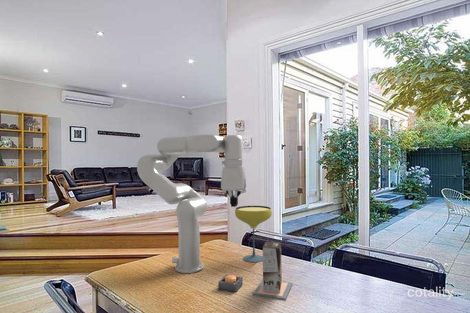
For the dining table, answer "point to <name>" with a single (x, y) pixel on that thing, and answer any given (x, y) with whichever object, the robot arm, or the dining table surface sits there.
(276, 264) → the coffee box
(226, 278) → the button
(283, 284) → the picture board
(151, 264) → the dining table surface
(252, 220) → the cocktail glass
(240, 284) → the button housing
